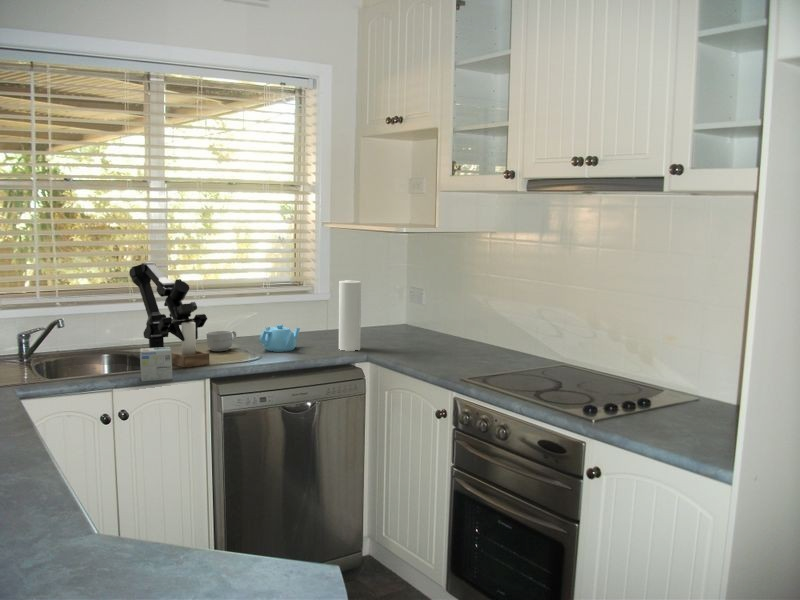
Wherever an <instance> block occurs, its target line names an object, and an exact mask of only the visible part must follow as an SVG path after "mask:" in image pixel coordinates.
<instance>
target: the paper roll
mask: <svg viewBox="0 0 800 600" xmlns="http://www.w3.org/2000/svg"><path fill="white" fill-rule="evenodd" d="M181 332H182V334H183V336H184V339H185V340H184V341H182V340H181V355H185V356H190V355H196V350H197V349H196V348H197V347H196V345H197V344H196V343H197V342H196V341H197V340H196V328H195V322H183V323H182V325H181Z"/></svg>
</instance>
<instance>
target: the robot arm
mask: <svg viewBox="0 0 800 600" xmlns="http://www.w3.org/2000/svg"><path fill="white" fill-rule="evenodd" d="M128 272H129V274H128V275H129V277H130V278H131V281H132V282H133V284H134V285H136V286H137V287H138V289H139V292H140V295H141V299H142V302H143V305H144V307H145V311H146V314H147V320H146V323H145V325H146V327H145V329H144V330H143V338H144V339H147V340H148V348H162V347H165V345H164V344H165V341H164V338H168V337H169V333H170V334H172V335H174V336H175V337H176V338H177V339H179V340H180V341H181V342H182V341H184V340H185V339H184V336H183V334H182V329H181V328H180V326H182V323H183V322H195V328H196V341H197V340H198V338H199V337H198V336H199V335H198V334H199V333H198V332H199V331H198V328H202V327H204V325H205V323H206V322H207V320H208V317H207V315H206V314H205V313H201V314H199V313H198V314H195V315H194V317H193V318H190V317H191V316H192V313H193V312H195V311H196V310H198V305H197V303H196V301H191V302H189V303H183V302H182V301H184V299H185V298H186V296H187V294H188V292H189V290H190V286H189V284H188V283H186V282H185V281H182V279H181V278H179V279H178V278H177V279H175V280H174V279H171V278H168V277H166V275H165V274H164V273H163V272H162V271H161V270H160V269H159V268H158V266H157V264H156V263H155V262H153V261H150V262H149V261H148V262H141V264H138V265H134V266H131V268H130V269H129V271H128ZM151 281H152V282H153V284H155V286H156V292H157V293H158V295H159V297H161V298H163V297H164V298H165V297H166V298H165V300H164V301H165V302H164V304H163V306H164V307H167V309H168V311H169V316H168V317H167V315H166V314H165V313H163V314H162V313H161V312H160V309H159V307H158V304H157V300H156V298H155V294H154V291H153V288H152V285H151Z"/></svg>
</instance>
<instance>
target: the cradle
mask: <svg viewBox="0 0 800 600" xmlns="http://www.w3.org/2000/svg"><path fill="white" fill-rule="evenodd" d="M171 354H172V365H175V366H179V367H181V368H185V367H188V368H193V367H192V366H194V367H198V366H204V365H205V364H206V365H210V352H206V351H201V350H198V349H196V355H190V356H185V355H182V353H181V354H180V353H176V352H174V351H173V352H172V351H171ZM206 365H205V366H206Z"/></svg>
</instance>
